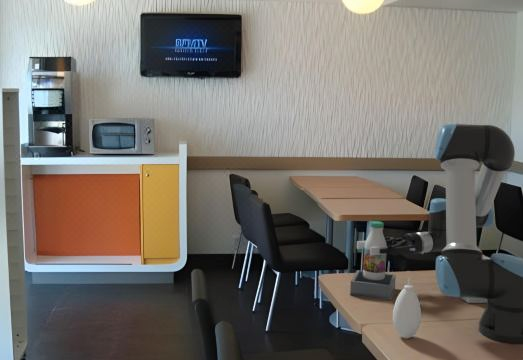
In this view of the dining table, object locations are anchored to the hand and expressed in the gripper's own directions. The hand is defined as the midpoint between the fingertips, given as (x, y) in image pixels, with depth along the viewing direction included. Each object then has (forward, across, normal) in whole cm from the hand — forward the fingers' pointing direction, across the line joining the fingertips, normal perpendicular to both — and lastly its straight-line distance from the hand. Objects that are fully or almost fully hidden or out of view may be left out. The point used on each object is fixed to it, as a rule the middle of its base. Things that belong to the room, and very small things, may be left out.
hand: (364, 248), depth 206 cm
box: (-5, 0, -16) cm, 17 cm away
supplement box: (-34, -19, -16) cm, 42 cm away
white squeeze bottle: (+10, -37, -16) cm, 42 cm away
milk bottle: (-5, 0, -11) cm, 12 cm away
